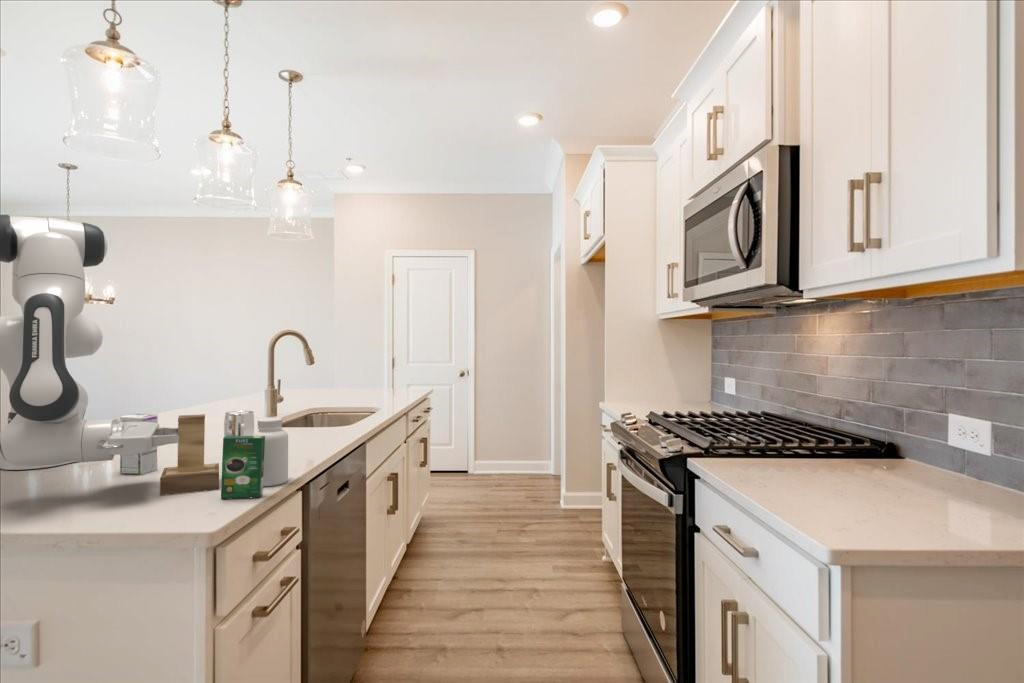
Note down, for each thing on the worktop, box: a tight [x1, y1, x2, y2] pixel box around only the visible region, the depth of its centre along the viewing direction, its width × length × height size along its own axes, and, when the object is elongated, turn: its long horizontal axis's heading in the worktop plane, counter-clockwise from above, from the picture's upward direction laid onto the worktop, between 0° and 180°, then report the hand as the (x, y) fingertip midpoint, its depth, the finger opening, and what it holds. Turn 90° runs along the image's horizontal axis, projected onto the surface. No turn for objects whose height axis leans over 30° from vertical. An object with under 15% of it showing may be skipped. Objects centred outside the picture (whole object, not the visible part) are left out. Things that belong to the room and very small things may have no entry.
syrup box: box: [119, 413, 159, 476], centre depth 132 cm, size 6×6×14 cm
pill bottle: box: [252, 417, 289, 487], centre depth 124 cm, size 8×8×15 cm
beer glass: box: [223, 410, 255, 438], centre depth 135 cm, size 7×7×15 cm
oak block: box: [177, 414, 206, 473], centre depth 120 cm, size 5×5×12 cm
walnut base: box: [159, 462, 220, 496], centre depth 120 cm, size 10×11×4 cm
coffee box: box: [220, 436, 265, 500], centre depth 113 cm, size 8×3×13 cm, turn 102°
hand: (180, 435), depth 119 cm, fingers open, 8 cm apart
